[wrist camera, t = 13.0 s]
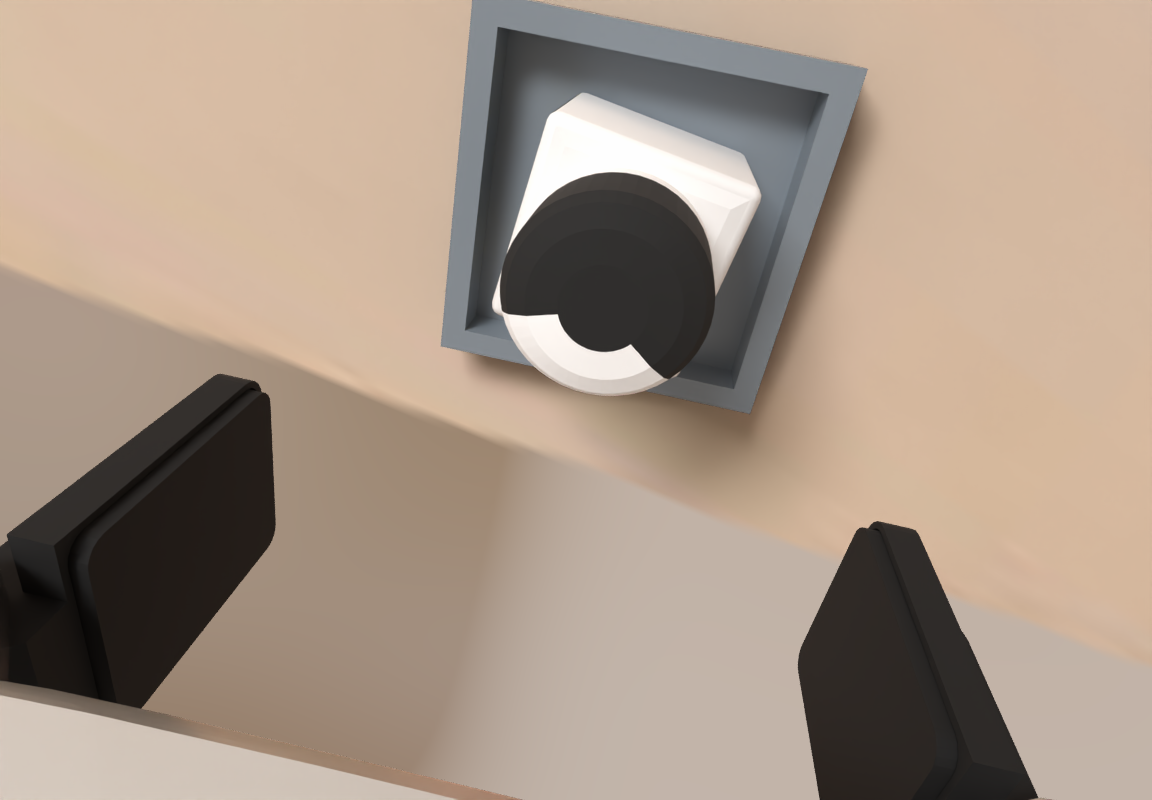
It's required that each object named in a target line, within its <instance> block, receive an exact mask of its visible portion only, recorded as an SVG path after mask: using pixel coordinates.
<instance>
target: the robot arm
mask: <svg viewBox="0 0 1152 800" xmlns="http://www.w3.org/2000/svg"><path fill="white" fill-rule="evenodd" d="M274 501H275V499H274V476H273V453H272V430H271V407H270V398H269V396H268V395H267V394H266V393H262V392H261V388H260V386H259V384H258V383H256V382H255V381H251V380H247V379H242V378H238V377H233V376H228V375H224V374H217V375H215V376H213V377H212V378H211V379H209V380H208V381H207V382H206V383H204V384H203V385H202V386H200V387H199V388H198V389H196V390H195V391H194V392H192V393H191V394H190V395H188V396H187V397H186V398H185V399H183V400H182V401H181V402H179V403H178V404H177V405H175V406H174V407H173V408H171V409H170V410H169V411H168V412H166V413H165V414H164V415H162V416H161V417H160V418H158V419H157V420H156V421H154V423H152V424H151V425H149V426H148V427H147V428H145V429H144V430H143V431H141V432H140V433H139V434H138V435H136V436H135V437H134V438H132V439H131V440H130V441H128V442H127V443H126V444H124V445H123V446H122V447H120V448H119V449H118V450H117V451H115V452H114V453H113V454H111V455H110V456H109V457H107V458H106V459H105V460H104V461H102V462H101V463H99V464H98V465H97V466H96V467H94V468H93V469H92V470H90V471H89V472H88V473H86V474H85V475H84V476H83V477H81V478H80V479H79V480H77V481H76V482H75V483H74V484H72V485H71V486H70V487H68V488H67V489H65V490H64V491H63V492H62V493H61V494H59V495H58V496H56V497H55V498H54V499H52V500H51V501H50V502H49V503H47V504H46V505H45V506H43V507H42V508H41V509H40V510H38V511H37V512H35V513H34V514H33V515H31V516H30V517H29V518H28V519H26V520H25V521H24V522H22V523H21V524H20V525H18V526H17V527H16V528H14V529H13V530H12V531H11V532H9V533H8V534H7V538H8V541H7V542H5V543H4V544H3V545H2V546H0V800H521V799H517V798H513V797H509V796H505V795H501V794H497V793H492V792H489V791H485V790H480V789H476V788H472V787H468V786H464V785H460V784H456V783H452V782H447V781H443V780H439V779H435V778H431V777H427V776H422V775H418V774H414V773H410V772H406V771H402V770H398V769H394V768H390V767H386V766H381V765H377V764H373V763H369V762H365V761H360V760H357V759H352V758H348V757H344V756H339V755H336V754H332V753H327V752H323V751H318V750H315V749H310V748H306V747H302V746H297V745H293V744H289V743H285V742H281V741H277V740H272V739H268V738H264V737H260V736H255V735H251V734H247V733H243V732H239V731H234V730H230V729H226V728H221V727H218V726H213V725H209V724H205V723H200V722H196V721H192V720H188V719H184V718H180V717H175V716H171V715H167V714H162V713H157V712H153V711H149V710H144V709H141V708H142V707H143V706H144V704H145V703H146V702H147V701H148V699H149V698H150V697H151V695H152V694H153V693H154V692H155V691H156V689H157V688H158V687H159V685H160V684H161V683H162V682H163V680H164V679H165V678H166V677H167V675H168V674H169V673H170V671H171V670H172V668H174V666H175V665H176V664H177V662H178V661H179V660H180V659H181V657H182V656H183V655H184V654H185V652H186V651H187V650H188V649H189V647H190V646H191V645H192V643H193V642H194V641H195V640H196V638H197V637H198V636H199V634H200V633H201V632H202V631H203V630H204V628H205V627H206V626H207V624H208V623H209V622H210V621H211V619H212V618H213V617H214V616H215V614H216V613H217V612H218V610H219V609H220V608H221V607H222V605H223V604H224V603H225V602H226V600H227V599H228V598H229V596H230V595H231V594H232V593H233V591H234V590H235V589H236V587H237V586H238V585H239V584H240V582H241V581H242V580H243V579H244V577H245V576H246V575H247V574H248V572H249V571H250V570H251V568H252V567H253V566H254V565H255V563H256V562H257V561H258V560H259V558H260V557H261V556H262V555H263V553H264V552H265V551H266V549H267V548H268V546H269V545H270V543H271V541H272V539H273V536H274V532H275V525H276V524H275V502H274ZM798 673H799V679H800V685H801V690H802V696H803V702H804V708H805V714H806V720H807V726H808V732H809V738H810V743H811V750H812V756H813V762H814V768H815V773H816V779H817V786H818V791H819V798H820V800H1051V799H1044V798H1038V796H1037V794H1036V791H1035V789H1034V787H1033V785H1032V783H1031V780H1030V778H1029V776H1028V774H1027V771H1026V769H1025V767H1024V765H1023V763H1022V760H1021V758H1020V756H1019V753H1018V751H1017V749H1016V747H1015V745H1014V742H1013V740H1012V738H1011V736H1010V733H1009V731H1008V729H1007V727H1006V724H1005V722H1004V720H1003V718H1002V715H1001V713H1000V711H999V709H998V707H997V704H996V702H995V700H994V698H993V695H992V693H991V691H990V689H989V687H988V684H987V682H986V680H985V677H984V675H983V673H982V671H981V669H980V666H979V664H978V662H977V660H976V657H975V655H974V653H973V651H972V649H971V646H970V644H969V642H968V640H967V638H966V637H965V635H964V634H963V632H962V631H961V629H960V626H959V624H958V622H957V620H956V618H955V615H954V613H953V611H952V608H951V606H950V604H949V602H948V599H947V597H946V595H945V593H944V590H943V588H942V586H941V584H940V581H939V579H938V577H937V575H936V572H935V570H934V568H933V566H932V563H931V561H930V559H929V557H928V554H927V552H926V550H925V548H924V545H923V543H922V541H921V539H920V536H919V535H918V533H917V532H916V531H915V530H913V529H910V528H906V527H901V526H897V525H892V524H888V523H884V522H879V521H876V522H873V523H872V524H871V525H870V527H869V528H868V529H867V528H863V527H862V528H859V529H858V530H857V531H856V533H855V535H854V537H853V539H852V541H851V543H850V545H849V547H848V549H847V552H846V554H845V556H844V558H843V560H842V562H841V564H840V566H839V568H838V570H837V573H836V575H835V577H834V579H833V581H832V583H831V585H830V587H829V589H828V592H827V594H826V596H825V598H824V600H823V602H822V604H821V606H820V608H819V611H818V613H817V615H816V617H815V619H814V621H813V623H812V625H811V627H810V630H809V632H808V634H807V636H806V638H805V640H804V642H803V644H802V647H801V650H800V653H799V659H798Z"/></svg>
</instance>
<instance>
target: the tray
mask: <svg viewBox="0 0 1152 800" xmlns="http://www.w3.org/2000/svg"><path fill="white" fill-rule="evenodd" d="M867 70H868V69H866V68H862V67H859V66H855V65H851V64H846V63H841V62H836V61H831V60H826V59H821V58H816V57H811V56H806V55H801V54H796V53H791V52H786V51H781V50H776V49H771V48H766V47H761V46H756V45H751V44H746V43H742V42H737V41H732V40H727V39H722V38H717V37H712V36H707V35H702V34H697V33H692V32H687V31H682V30H677V29H672V28H667V27H662V26H657V25H652V24H647V23H642V22H637V21H632V20H628V19H623V18H618V17H613V16H608V15H603V14H598V13H593V12H588V11H583V10H578V9H573V8H568V7H563V6H558V5H553V4H548V3H543V2H538V1H533V0H472V10H471V21H470V32H469V43H468V54H467V65H466V76H465V87H464V98H463V109H462V120H461V131H460V142H459V153H458V163H457V174H456V185H455V196H454V207H453V218H452V229H451V240H450V251H449V262H448V273H447V284H446V295H445V306H444V317H443V328H442V339H441V346H442V347H447V348H451V349H456V350H460V351H465V352H470V353H474V354H479V355H483V356H488V357H492V358H497V359H501V360H506V361H511V362H515V363H520V364H524V365H529V366H533V365H532V364H531V363H530V362H529V361H528V360H527V359H526V358H525V356H524V355H523V354H522V353H521V351H520V350H519V349H518V347H517V346H516V344H515V342H514V341H513V339H512V338H511V335H510V333H509V331H508V329H507V326H506V324H505V320H504V317H503V316H501V315H498V314H497V313H495V312H494V310H493V308H492V300H493V297H494V294H495V291H496V287H497V284H498V281H499V277H500V274H501V271H502V267H503V264H504V260H505V257H506V254H507V251H508V247H509V244H510V241H511V237H512V234H513V231H514V227H515V224H516V221H517V217H518V214H519V211H520V208H521V204H522V201H523V198H524V194H525V191H526V188H527V184H528V181H529V178H530V174H531V171H532V168H533V164H534V161H535V158H536V154H537V151H538V148H539V144H540V141H541V138H542V134H543V131H544V128H545V125H546V121H547V119H548V117H549V115H550V114H551V113H552V112H554V111H555V110H557V109H558V108H560V107H561V106H562V105H564V104H565V103H567V102H568V101H569V100H571V99H572V98H574V97H575V96H577V95H578V94H580V93H588V94H591V95H593V96H596V97H598V98H601V99H603V100H606V101H609V102H611V103H614V104H616V105H619V106H622V107H624V108H627V109H629V110H632V111H634V112H637V113H640V114H642V115H645V116H647V117H650V118H652V119H655V120H658V121H660V122H663V123H665V124H668V125H670V126H673V127H676V128H678V129H681V130H683V131H686V132H689V133H691V134H694V135H696V136H699V137H701V138H704V139H707V140H709V141H712V142H714V143H717V144H719V145H722V146H725V147H727V148H730V149H732V150H735V151H737V152H740V153H742V154H743V155H744V156H745V158H746V161H747V163H748V165H749V167H750V170H751V172H752V174H753V176H754V179H755V181H756V183H757V185H758V188H759V190H760V193H761V201H760V203H759V205H758V208H757V210H756V212H755V214H754V216H753V218H752V220H751V222H750V225H749V227H748V229H747V231H746V233H745V235H744V237H743V239H742V242H741V244H740V246H739V248H738V250H737V252H736V254H735V256H734V259H733V261H732V263H731V265H730V267H729V269H728V271H727V273H726V276H725V278H724V280H723V282H722V284H721V286H720V288H719V290H718V293H717V295H716V297H715V310H714V315H713V319H712V323H711V326H710V329H709V332H708V334H707V337H706V339H705V341H704V342H703V344H702V346H701V348H700V349H699V351H698V352H697V353H696V355H695V356H694V357H693V359H692V360H691V361H690V362H689V363H688V364H687V365H686V366H685V367H684V368H683V369H682V370H681V371H680V373H679V374H678V375H677V376H676V377H673V378H670V379H669V380H667V381H665V382H663V383H661V384H660V385H658V386H656V387H653V388H650V389H648V390H645V391H647V392H652V393H657V394H661V395H666V396H670V397H675V398H679V399H684V400H688V401H693V402H698V403H702V404H707V405H711V406H716V407H720V408H725V409H730V410H734V411H739V412H743V413H748V414H750V413H751V410H752V407H753V404H754V401H755V398H756V395H757V392H758V389H759V386H760V383H761V380H762V378H763V375H764V372H765V369H766V366H767V363H768V360H769V357H770V354H771V351H772V348H773V345H774V342H775V340H776V337H777V334H778V331H779V328H780V325H781V322H782V319H783V316H784V313H785V310H786V307H787V304H788V301H789V299H790V296H791V293H792V290H793V287H794V284H795V281H796V278H797V275H798V272H799V269H800V266H801V263H802V261H803V258H804V255H805V252H806V249H807V246H808V243H809V240H810V237H811V234H812V231H813V228H814V225H815V222H816V220H817V217H818V214H819V211H820V208H821V205H822V202H823V199H824V196H825V193H826V190H827V187H828V184H829V182H830V179H831V176H832V173H833V170H834V167H835V164H836V161H837V158H838V155H839V152H840V149H841V146H842V143H843V141H844V138H845V135H846V132H847V129H848V126H849V123H850V120H851V117H852V114H853V111H854V108H855V105H856V103H857V100H858V97H859V94H860V91H861V88H862V85H863V82H864V79H865V76H866V73H867ZM533 367H534V366H533Z"/></svg>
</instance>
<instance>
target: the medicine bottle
mask: <svg viewBox="0 0 1152 800" xmlns="http://www.w3.org/2000/svg"><path fill="white" fill-rule="evenodd" d="M760 201H761V193H760V190H759V188H758V185H757V183H756V181H755V179H754V176H753V174H752V172H751V170H750V167H749V165H748V163H747V161H746V158H745V156H744V155H743V154H742V153H740V152H737V151H735V150H732V149H730V148H727V147H725V146H722V145H719V144H717V143H714V142H712V141H709V140H707V139H704V138H701V137H699V136H696V135H694V134H691V133H689V132H686V131H683V130H681V129H678V128H676V127H673V126H670V125H668V124H665V123H663V122H660V121H658V120H655V119H652V118H650V117H647V116H645V115H642V114H640V113H637V112H634V111H632V110H629V109H627V108H624V107H622V106H619V105H616V104H614V103H611V102H609V101H606V100H603V99H601V98H598V97H596V96H593V95H591V94H588V93H580V94H578V95H577V96H575V97H574V98H572V99H571V100H569V101H568V102H567V103H565V104H564V105H562V106H561V107H560V108H558V109H557V110H555V111H554V112H552V113H551V114H550V115H549V117H548V119H547V121H546V125H545V128H544V131H543V134H542V138H541V141H540V144H539V148H538V151H537V154H536V158H535V161H534V164H533V168H532V171H531V174H530V178H529V181H528V184H527V188H526V191H525V194H524V198H523V201H522V204H521V208H520V211H519V214H518V217H517V221H516V224H515V227H514V231H513V234H512V237H511V241H510V244H509V247H508V251H507V254H506V257H505V260H504V264H503V267H502V271H501V274H500V277H499V281H498V284H497V287H496V291H495V294H494V297H493V300H492V308H493V310H494V312H495V313H497V314H498V315H501V316H503V317H504V320H505V324H506V326H507V329H508V331H509V333H510V335H511V338H512V339H513V341H514V342H515V344H516V346H517V347H518V349H519V350H520V351H521V353H522V354H523V355H524V356H525V358H526V359H527V360H528V361H529V362H530V363H531V364H532V365H533V366H534V367H535V368H536V369H537V370H539V371H540V372H541V373H543V374H544V375H546V376H547V377H548V378H550V379H552V380H553V381H555V382H557V383H559V384H561V385H563V386H565V387H568V388H570V389H573V390H575V391H579V392H583V393H587V394H593V395H600V396H620V395H629V394H634V393H638V392H642V391H645V390H648V389H650V388H653V387H656V386H658V385H660V384H661V383H663V382H665V381H667V380H669V379H670V378H673V377H676V376H677V375H678V374H679V373H680V371H681V370H682V369H683V368H684V367H685V366H686V365H687V364H688V363H689V362H690V361H691V360H692V359H693V357H694V356H695V355H696V353H697V352H698V351H699V349H700V348H701V346H702V344H703V342H704V341H705V339H706V337H707V334H708V332H709V329H710V326H711V323H712V319H713V315H714V310H715V297H716V295H717V293H718V290H719V288H720V286H721V284H722V282H723V280H724V278H725V276H726V273H727V271H728V269H729V267H730V265H731V263H732V261H733V259H734V256H735V254H736V252H737V250H738V248H739V246H740V244H741V242H742V239H743V237H744V235H745V233H746V231H747V229H748V227H749V225H750V222H751V220H752V218H753V216H754V214H755V212H756V210H757V208H758V205H759V203H760Z"/></svg>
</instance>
